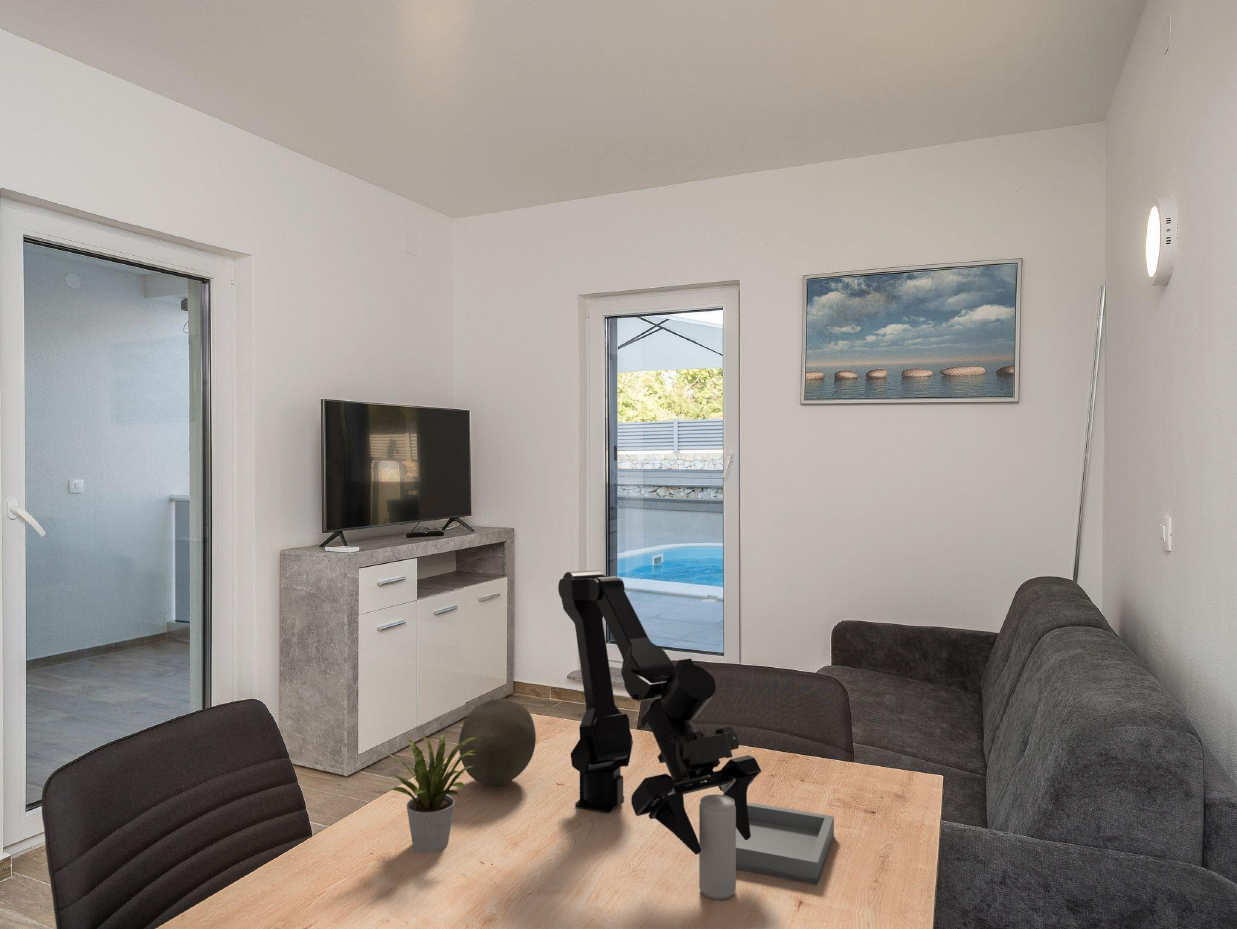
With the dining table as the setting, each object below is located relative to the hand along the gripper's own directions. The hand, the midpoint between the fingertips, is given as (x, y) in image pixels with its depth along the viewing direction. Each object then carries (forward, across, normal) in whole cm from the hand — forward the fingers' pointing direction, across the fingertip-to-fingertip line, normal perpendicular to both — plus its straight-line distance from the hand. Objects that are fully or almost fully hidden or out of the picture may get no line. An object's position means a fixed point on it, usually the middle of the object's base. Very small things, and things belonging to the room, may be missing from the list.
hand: (723, 845), depth 105 cm
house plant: (-19, -28, +28) cm, 44 cm away
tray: (0, +14, +10) cm, 17 cm away
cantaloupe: (-31, -12, +40) cm, 52 cm away
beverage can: (+4, 0, +6) cm, 7 cm away
